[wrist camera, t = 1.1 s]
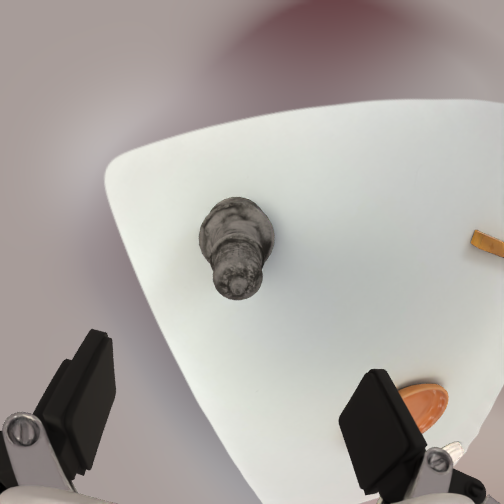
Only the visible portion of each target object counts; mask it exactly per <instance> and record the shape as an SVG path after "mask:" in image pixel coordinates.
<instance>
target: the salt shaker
mask: <svg viewBox="0 0 504 504" xmlns="http://www.w3.org/2000/svg"><path fill="white" fill-rule="evenodd" d="M199 245H200V248H201V251H202V254H203V255H204V257H205V258H206V260H207V261H208V262H209V263H210V265H211V267H212V270H213V282H214V285H215V287H216V289H217V291H218V292H219V293H220V294H221V295H222V296H224V297H226V298H228V299H232V300H243V299H247V298H249V297H251V296H253V295H254V294H255V293H256V292H257V291H258V290H259V288H260V286H261V283H262V278H263V274H262V268H263V265H264V262H265V261H266V260H267V259H268V257H269V256H270V254H271V252H272V249H273V246H274V231H273V227H272V224H271V222H270V221H269V219H268V217H267V216H266V215H265V214H264V213H263V212H262V210H261V209H260V208H259V207H258V206H257V205H256V204H255V203H254V202H252V201H250V200H248V199H245V198H241V197H231V198H228V199H224V200H223V201H221V202H219V203H218V204H216V205H215V207H214V208H213V209H212V210H211V212H210V214H209V215H208V216H207V217H206V218H205V220H204V221H203V223H202V225H201V228H200V233H199Z"/></svg>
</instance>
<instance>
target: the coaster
mask: <svg viewBox="0 0 504 504" xmlns="http://www.w3.org/2000/svg"><path fill="white" fill-rule="evenodd" d="M442 449H444V450H445V451H447V452H448V453H449V454H450V456H451V458H452V460H453V463H455V462H456V461H457V460H458V459H459V458H460V457H461V456H462V455H463V453H464V450H463V449H462V446H461V445H460V443H459V442H454V443H451V444H449V445H447V446H445V447H444V448H442Z"/></svg>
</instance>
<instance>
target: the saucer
mask: <svg viewBox="0 0 504 504" xmlns="http://www.w3.org/2000/svg"><path fill="white" fill-rule="evenodd" d="M398 392H399V394H400V395H401V397H402V399H403V401H404V403H405V404H406V406H407V408H408V410H409V411H410V413H411V415H412V417H413V419H414V421H415V422H416V424H417V426H418V428H419V430H420V432H421V433H422V434H423V433H424V432H425V431H427V430H428V429H429V428H430V427H431V426H433V425H434V424H435V423H436V421H437V420H438V419H439V418H440V417H441V415H442V414H443V412H444V411H445V409H446V407H447V404H448V393H447V391H446V390H445V389H444V388H443V387H442V386H440V385H437V384H418V385H412V386H408V387H406V388H403V389H401V390H398Z"/></svg>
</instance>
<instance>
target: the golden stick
mask: <svg viewBox="0 0 504 504" xmlns="http://www.w3.org/2000/svg"><path fill="white" fill-rule="evenodd" d="M471 244H472V245H474V246H475V247H477V248H479V249H481V250H484V251H487V252H490V253H492V254H495V255H498V256H500V257H503V258H504V242H503V241H501V240H499V239H496V238H494V237H492V236H489V235H487V234H485V233H482V232H480V231H478V230H475V232H474V235H473V238H472V240H471Z"/></svg>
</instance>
